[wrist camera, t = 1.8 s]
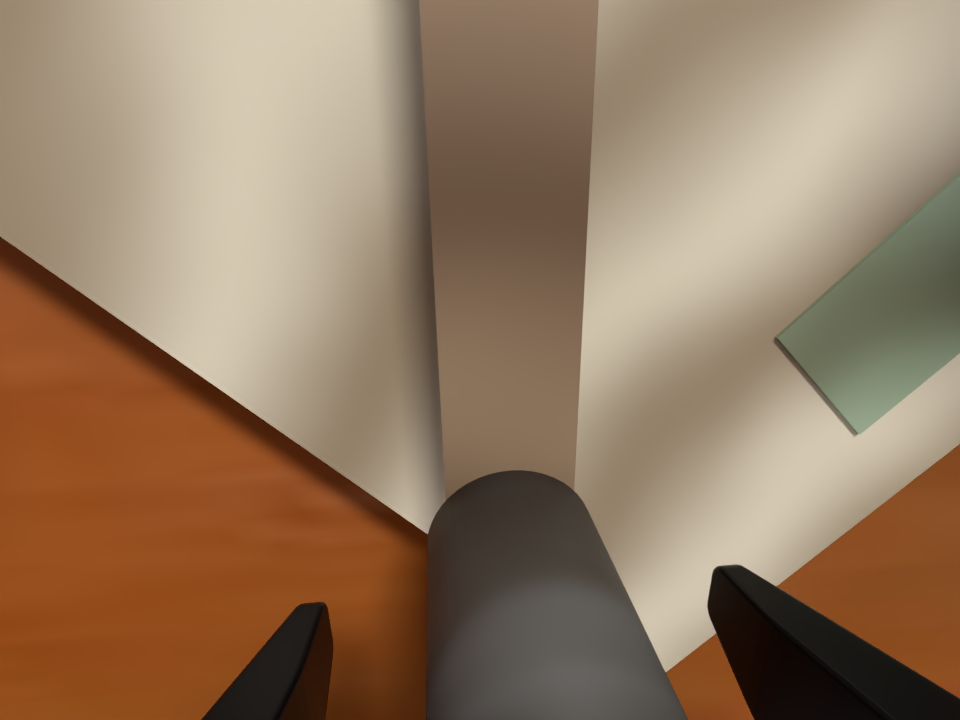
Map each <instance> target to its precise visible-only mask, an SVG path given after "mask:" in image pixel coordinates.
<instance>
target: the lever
mask: <svg viewBox="0 0 960 720" xmlns="http://www.w3.org/2000/svg"><path fill="white" fill-rule="evenodd" d="M598 6H599V0H419V9H420V28H421V46H422V65H423V84H424V103H425V121H426V140H427V159H428V178H429V197H430V215H431V234H432V253H433V272H434V290H435V309H436V328H437V347H438V366H439V384H440V403H441V422H442V441H443V460H444V478H445V497H446V501H445V502H444V503H443V504H442V506H441V507H440V509H439V510H438V511H437V513H436V515H435V517H434V519H433V521H432V523H431V526H430V529H429V532H428V538H427V684H426V720H688V718H687V716H686V714H685V712H684V710H683V708H682V706H681V704H680V702H679V700H678V698H677V695H676V693H675V691H674V689H673V687H672V685H671V683H670V681H669V679H668V677H667V675H666V673H665V670H664V668H663V666H662V664H661V662H660V660H659V658H658V656H657V654H656V652H655V650H654V647H653V645H652V643H651V641H650V639H649V637H648V635H647V633H646V631H645V629H644V627H643V624H642V622H641V620H640V618H639V616H638V614H637V612H636V610H635V608H634V606H633V604H632V601H631V599H630V597H629V595H628V593H627V591H626V589H625V587H624V585H623V583H622V581H621V579H620V576H619V574H618V572H617V570H616V568H615V566H614V564H613V562H612V560H611V558H610V556H609V553H608V551H607V549H606V547H605V545H604V543H603V541H602V539H601V537H600V535H599V533H598V530H597V528H596V526H595V524H594V522H593V520H592V518H591V516H590V514H589V512H588V510H587V508H586V506H585V504H584V502H583V501H582V499H581V498H580V497H579V496H578V494H577V493H576V492H575V491H574V486H575V466H576V446H577V426H578V406H579V386H580V366H581V346H582V326H583V306H584V286H585V266H586V246H587V226H588V206H589V186H590V166H591V146H592V126H593V106H594V86H595V66H596V46H597V26H598Z"/></svg>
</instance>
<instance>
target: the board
mask: <svg viewBox="0 0 960 720" xmlns="http://www.w3.org/2000/svg"><path fill="white" fill-rule="evenodd" d="M0 237H2V238H3V239H4V240H6V241H7V242H9V243H10V244H12V245H13V246H15V247H16V248H17V249H19V250H20V251H22V252H23V253H25V254H26V255H27V256H29V257H30V258H32V259H33V260H35V261H36V262H37V263H39V264H40V265H42V266H43V267H45V268H46V269H48V270H49V271H50V272H52V273H53V274H55V275H56V276H58V277H59V278H60V279H62V280H63V281H65V282H66V283H68V284H69V285H70V286H72V287H73V288H75V289H76V290H78V291H79V292H81V293H82V294H83V295H85V296H86V297H88V298H89V299H91V300H92V301H93V302H95V303H96V304H98V305H99V306H101V307H102V308H103V309H105V310H106V311H108V312H109V313H111V314H112V315H114V316H115V317H116V318H118V319H119V320H121V321H122V322H124V323H125V324H126V325H128V326H129V327H131V328H132V329H134V330H135V331H136V332H138V333H139V334H141V335H142V336H144V337H145V338H147V339H148V340H149V341H151V342H152V343H154V344H155V345H157V346H158V347H159V348H161V349H162V350H164V351H165V352H167V353H168V354H170V355H171V356H172V357H174V358H175V359H177V360H178V361H180V362H181V363H182V364H184V365H185V366H187V367H188V368H190V369H191V370H192V371H194V372H195V373H197V374H198V375H200V376H201V377H203V378H204V379H205V380H207V381H208V382H210V383H211V384H213V385H214V386H215V387H217V388H218V389H220V390H221V391H223V392H224V393H225V394H227V395H228V396H230V397H231V398H233V399H234V400H236V401H237V402H238V403H240V404H241V405H243V406H244V407H246V408H247V409H248V410H250V411H251V412H253V413H254V414H256V415H257V416H258V417H260V418H261V419H263V420H264V421H266V422H267V423H269V424H270V425H271V426H273V427H274V428H276V429H277V430H279V431H280V432H281V433H283V434H284V435H286V436H287V437H289V438H290V439H291V440H293V441H294V442H296V443H297V444H299V445H300V446H302V447H303V448H304V449H306V450H307V451H309V452H310V453H312V454H313V455H314V456H316V457H317V458H319V459H320V460H322V461H323V462H324V463H326V464H327V465H329V466H330V467H332V468H333V469H335V470H336V471H337V472H339V473H340V474H342V475H343V476H345V477H346V478H347V479H349V480H350V481H352V482H353V483H355V484H356V485H358V486H359V487H360V488H362V489H363V490H365V491H366V492H368V493H369V494H370V495H372V496H373V497H375V498H376V499H378V500H379V501H380V502H382V503H383V504H385V505H386V506H388V507H389V508H391V509H392V510H393V511H395V512H396V513H398V514H399V515H401V516H402V517H403V518H405V519H406V520H408V521H409V522H411V523H412V524H413V525H415V526H416V527H418V528H419V529H421V530H422V531H424V532H425V533H426V534H428V532H429V529H430V526H431V523H432V521H433V519H434V517H435V515H436V513H437V511H438V510H439V509H440V507H441V506H442V504H443V503H444V502H445V501H446V497H445V478H444V460H443V441H442V422H441V403H440V384H439V366H438V347H437V328H436V309H435V290H434V272H433V253H432V234H431V215H430V197H429V178H428V159H427V140H426V121H425V103H424V84H423V65H422V46H421V28H420V9H419V0H0ZM959 444H960V0H599V6H598V26H597V46H596V66H595V86H594V106H593V126H592V146H591V166H590V186H589V206H588V226H587V246H586V266H585V286H584V306H583V326H582V346H581V366H580V386H579V406H578V426H577V446H576V466H575V486H574V491H575V492H576V493H577V494H578V496H579V497H580V498H581V499H582V501H583V502H584V504H585V506H586V508H587V510H588V512H589V514H590V516H591V518H592V520H593V522H594V524H595V526H596V528H597V530H598V533H599V535H600V537H601V539H602V541H603V543H604V545H605V547H606V549H607V551H608V553H609V556H610V558H611V560H612V562H613V564H614V566H615V568H616V570H617V572H618V574H619V576H620V579H621V581H622V583H623V585H624V587H625V589H626V591H627V593H628V595H629V597H630V599H631V601H632V604H633V606H634V608H635V610H636V612H637V614H638V616H639V618H640V620H641V622H642V624H643V627H644V629H645V631H646V633H647V635H648V637H649V639H650V641H651V643H652V645H653V647H654V650H655V652H656V654H657V656H658V658H659V660H660V662H661V664H662V666H663V668H664V670H665V672H667V671H668V670H669V669H671V668H672V667H673V666H674V665H676V664H677V663H678V662H680V661H681V660H682V659H683V658H685V657H686V656H687V655H689V654H690V653H691V652H692V651H694V650H695V649H696V648H698V647H699V646H700V645H701V644H703V643H704V642H705V641H707V640H708V639H709V638H710V637H712V636H713V635H714V634H716V631H715V629H714V627H713V624H712V622H711V620H710V617H709V614H708V608H707V602H708V596H709V590H710V584H711V578H712V573H713V570H714V569H715V567H717V566H722V565H733V564H738V565H741V566H743V567H745V568H747V569H749V570H750V571H752V572H754V573H755V574H757V575H758V576H760V577H762V578H763V579H765V580H767V581H768V582H770V583H771V584H773V585H775V586H777V585H779V584H780V583H781V582H783V581H784V580H785V579H786V578H788V577H789V576H790V575H792V574H793V573H794V572H795V571H797V570H798V569H799V568H801V567H802V566H803V565H804V564H806V563H807V562H808V561H810V560H811V559H812V558H813V557H815V556H816V555H817V554H819V553H820V552H821V551H822V550H824V549H825V548H826V547H828V546H829V545H830V544H831V543H833V542H834V541H835V540H837V539H838V538H839V537H840V536H842V535H843V534H844V533H846V532H847V531H848V530H849V529H851V528H852V527H853V526H855V525H856V524H857V523H858V522H860V521H861V520H862V519H864V518H865V517H866V516H867V515H869V514H870V513H871V512H873V511H874V510H875V509H876V508H878V507H879V506H880V505H882V504H883V503H884V502H885V501H887V500H888V499H889V498H891V497H892V496H893V495H895V494H896V493H897V492H898V491H900V490H901V489H902V488H904V487H905V486H906V485H907V484H909V483H910V482H911V481H913V480H914V479H915V478H916V477H918V476H919V475H920V474H922V473H923V472H924V471H925V470H927V469H928V468H929V467H931V466H932V465H933V464H934V463H936V462H937V461H938V460H940V459H941V458H942V457H943V456H945V455H946V454H947V453H949V452H950V451H951V450H952V449H954V448H955V447H956V446H958V445H959Z"/></svg>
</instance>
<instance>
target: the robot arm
mask: <svg viewBox="0 0 960 720" xmlns="http://www.w3.org/2000/svg"><path fill="white" fill-rule="evenodd" d="M707 608H708V614H709V617H710V620H711V622H712V624H713V627H714V629H715V631H716V634H717V636H718V638H719V641H720V643H721V645H722V648H723V650H724V652H725V654H726V657H727V659H728V661H729V664H730V666H731V668H732V671H733V673H734V675H735V678H736V680H737V682H738V685H739V687H740V689H741V691H742V694H743V696H744V698H745V701H746V703H747V705H748V707H749V709H750V711H751V714H752V716H753V717H754V719H755V720H960V699H959V698H958V697H956V696H954V695H953V694H951V693H950V692H948V691H946V690H945V689H943V688H941V687H940V686H938V685H936V684H935V683H933V682H932V681H930V680H928V679H927V678H925V677H923V676H922V675H920V674H919V673H917V672H915V671H914V670H912V669H910V668H909V667H907V666H905V665H904V664H902V663H901V662H899V661H897V660H896V659H894V658H892V657H891V656H889V655H887V654H886V653H884V652H883V651H881V650H879V649H878V648H876V647H874V646H873V645H871V644H870V643H868V642H866V641H865V640H863V639H861V638H860V637H858V636H856V635H855V634H853V633H852V632H850V631H848V630H847V629H845V628H843V627H842V626H840V625H838V624H837V623H835V622H834V621H832V620H830V619H829V618H827V617H825V616H824V615H822V614H820V613H819V612H817V611H816V610H814V609H812V608H811V607H809V606H807V605H806V604H804V603H803V602H801V601H799V600H798V599H796V598H794V597H793V596H791V595H789V594H788V593H786V592H785V591H783V590H781V589H780V588H778V587H776V586H775V585H773V584H771V583H770V582H768V581H767V580H765V579H763V578H762V577H760V576H758V575H757V574H755V573H754V572H752V571H750V570H749V569H747V568H745V567H743V566H741V565H738V564H733V565H722V566H717V567H715V569H714V570H713V573H712V578H711V584H710V590H709V596H708V602H707ZM332 658H333V638H332V632H331V626H330V619H329V613H328V608H327V605H326V604H325V603H324V602H315V603H304V604H300V605H299V606H297V607H296V608H295V609H294V610H293V612H292V613H291V614H290V615H289V616H288V618H287V619H286V620H285V621H284V622H283V624H282V625H281V626H280V627H279V628H278V629H277V631H276V632H275V633H274V634H273V635H272V637H271V638H270V639H269V640H268V641H267V642H266V644H265V645H264V646H263V647H262V648H261V650H260V651H259V652H258V653H257V654H256V655H255V657H254V658H253V659H252V660H251V661H250V663H249V664H248V665H247V666H246V667H245V668H244V670H243V671H242V672H241V673H240V674H239V676H238V677H237V678H236V679H235V680H234V681H233V683H232V684H231V685H230V686H229V687H228V689H227V690H226V691H225V692H224V693H223V694H222V696H221V697H220V698H219V699H218V700H217V702H216V703H215V704H214V705H213V706H212V708H211V709H210V710H209V711H208V712H207V713H206V715H205V716H204V717H203V718H202V719H201V720H325V718H326V710H327V701H328V693H329V684H330V675H331V667H332Z"/></svg>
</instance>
